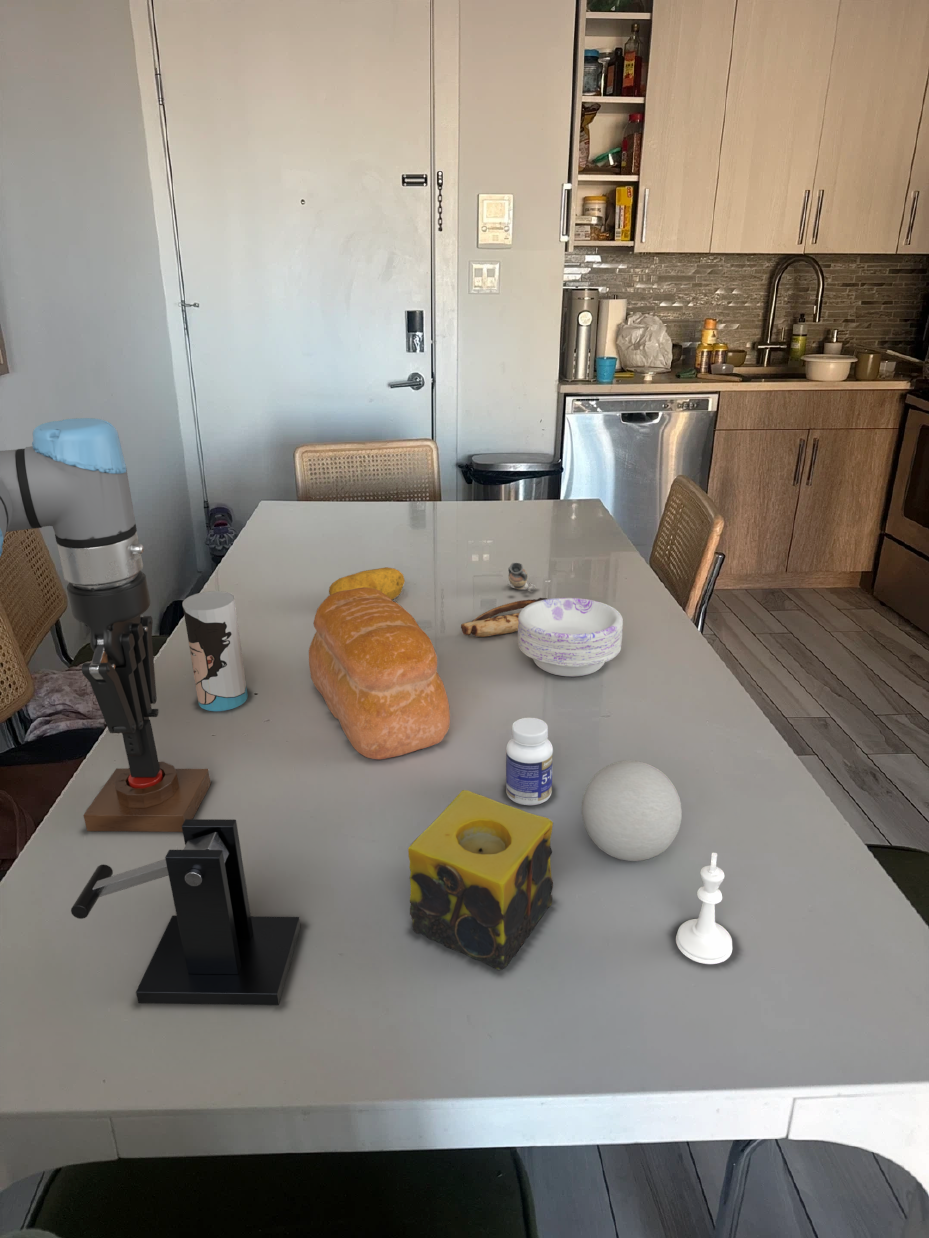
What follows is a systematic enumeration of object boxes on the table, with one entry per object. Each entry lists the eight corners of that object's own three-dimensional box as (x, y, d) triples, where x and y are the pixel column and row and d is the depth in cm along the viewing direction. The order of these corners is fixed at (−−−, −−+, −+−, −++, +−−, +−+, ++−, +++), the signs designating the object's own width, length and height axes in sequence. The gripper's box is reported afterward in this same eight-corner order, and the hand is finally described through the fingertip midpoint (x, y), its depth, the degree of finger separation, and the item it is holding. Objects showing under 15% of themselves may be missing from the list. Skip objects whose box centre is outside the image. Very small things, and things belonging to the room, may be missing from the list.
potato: (414, 606, 151) (412, 569, 148) (339, 622, 145) (335, 584, 143) (396, 591, 157) (394, 556, 155) (323, 606, 152) (320, 570, 149)
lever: (79, 925, 73) (64, 904, 72) (105, 882, 78) (90, 862, 77) (216, 882, 70) (202, 860, 70) (234, 841, 75) (221, 820, 74)
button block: (87, 831, 95) (79, 801, 94) (119, 783, 103) (113, 755, 102) (186, 831, 95) (180, 801, 93) (211, 784, 103) (206, 755, 101)
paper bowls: (592, 635, 139) (594, 589, 136) (639, 676, 126) (642, 626, 122) (502, 650, 134) (502, 602, 131) (541, 695, 121) (542, 643, 118)
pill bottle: (550, 808, 97) (551, 740, 94) (503, 804, 98) (503, 737, 95) (553, 781, 102) (555, 715, 99) (508, 778, 103) (508, 712, 99)
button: (125, 797, 96) (122, 784, 96) (138, 779, 100) (135, 766, 99) (157, 797, 96) (155, 784, 96) (169, 779, 100) (166, 766, 99)
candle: (464, 868, 88) (462, 786, 84) (554, 903, 84) (557, 817, 80) (408, 932, 80) (402, 845, 76) (504, 974, 76) (503, 883, 72)
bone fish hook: (541, 609, 150) (445, 627, 143) (541, 584, 148) (444, 600, 141) (569, 628, 142) (469, 647, 135) (570, 600, 140) (469, 619, 133)
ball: (583, 881, 86) (587, 797, 82) (577, 819, 95) (580, 741, 91) (685, 883, 86) (694, 799, 82) (669, 821, 95) (676, 742, 91)
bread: (390, 661, 132) (385, 567, 126) (461, 744, 110) (458, 635, 104) (303, 679, 127) (293, 582, 121) (359, 771, 105) (349, 658, 99)
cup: (221, 683, 126) (207, 587, 120) (257, 693, 123) (245, 595, 117) (187, 704, 121) (171, 605, 114) (225, 715, 118) (210, 613, 112)
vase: (526, 600, 153) (526, 568, 150) (497, 595, 155) (497, 564, 152) (537, 589, 157) (537, 558, 155) (509, 585, 159) (509, 554, 157)
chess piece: (733, 929, 80) (745, 841, 76) (731, 969, 76) (744, 878, 72) (678, 919, 81) (687, 831, 77) (673, 957, 77) (682, 867, 73)
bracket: (138, 1003, 74) (107, 873, 68) (174, 925, 82) (149, 804, 76) (278, 1005, 73) (259, 874, 68) (300, 927, 81) (285, 805, 76)
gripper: (116, 601, 82) (158, 808, 91) (164, 554, 93) (197, 742, 103) (38, 601, 82) (87, 808, 91) (96, 554, 94) (135, 742, 103)
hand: (145, 773), depth 97 cm, fingers closed
